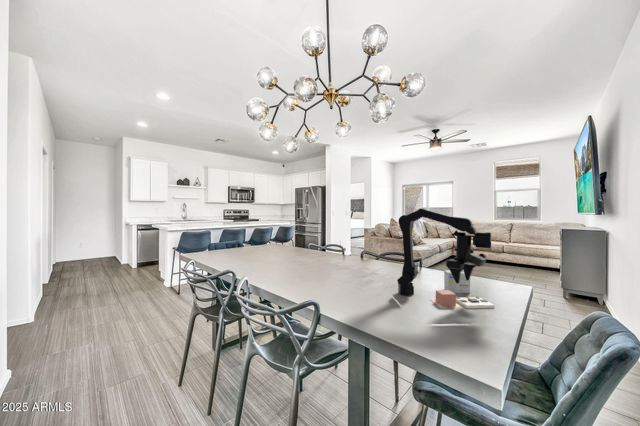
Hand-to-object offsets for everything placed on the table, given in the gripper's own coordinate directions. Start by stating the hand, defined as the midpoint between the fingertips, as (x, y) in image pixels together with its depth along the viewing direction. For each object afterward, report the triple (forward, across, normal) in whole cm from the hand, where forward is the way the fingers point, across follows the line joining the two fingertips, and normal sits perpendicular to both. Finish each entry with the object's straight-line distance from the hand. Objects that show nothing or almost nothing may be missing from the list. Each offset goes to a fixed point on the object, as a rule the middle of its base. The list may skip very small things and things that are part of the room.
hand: (462, 281), depth 118 cm
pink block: (+10, -6, +4) cm, 12 cm away
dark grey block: (+10, +3, -3) cm, 11 cm away
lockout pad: (+11, -6, +4) cm, 13 cm away
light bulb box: (+11, +17, +11) cm, 23 cm away
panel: (+10, +4, -3) cm, 12 cm away
